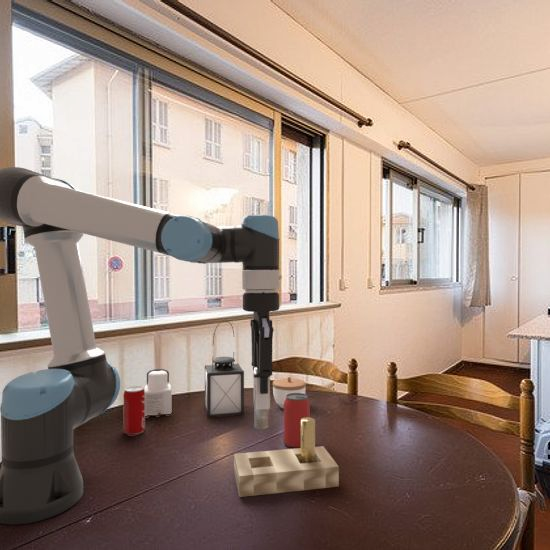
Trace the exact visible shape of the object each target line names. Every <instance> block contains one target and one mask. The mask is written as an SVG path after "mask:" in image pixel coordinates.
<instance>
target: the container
mask: <svg viewBox="0 0 550 550" xmlns="http://www.w3.org/2000/svg"><path fill="white" fill-rule="evenodd" d="M144 391H145V416H147V415H158V414H171V413H172V404H173V403H172V402H173V401H172V399H173V398H172V397H173V396H172V394H173V393H172V387H171V383H170V372H169V370H167V369H164V368H156V369H155V368H154V369H152V370H149V371H147V373H146V385H145V386H144ZM172 414H173V413H172ZM172 414H171V415H172Z"/></svg>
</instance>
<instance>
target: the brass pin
mask: <svg viewBox="0 0 550 550" xmlns="http://www.w3.org/2000/svg"><path fill="white" fill-rule="evenodd" d="M315 447H316V419H315V418H313V417H310V418H309V417H305V418H302V419H301V464H302V463H312V462H315Z"/></svg>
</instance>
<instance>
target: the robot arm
mask: <svg viewBox="0 0 550 550" xmlns="http://www.w3.org/2000/svg"><path fill="white" fill-rule="evenodd" d="M0 221H2V222H4V223H7V224H9V225H13V226H18V227H22V230H23V231H22V232H23V235H24V240H25V243H27V244H29V245H30V246H32V247H33V248H34V251H35V257H36V261H37V262H36V263H37V269H38V274H39V280H40V286H41V290H42V296H43V300H44V301H43V302H44V307H45V313H46V319H47V323H48V330H49V336H50V339H51V340H50V341H51V346H52V351H53V357H52V359H51V360H50V362H48V364H47V369H46V368H45V369H40V370H37V371H34V372H33V371H30V372H27V373H24V374H21V375H19V376H17V377H15V378H13V379H12V380H10V381H8V383H7V384H6V385H5V386H4V387H3V389H2V392H1V402H0V425H1V426H0V431H1V433H0V436H1V438H0V440H1V445H0V446H1V447H0V448H1V467H0V524H3V525H25V524H32V523H35V522H37V523H38V522H41V521H44V520H47V519H50V518H53V517H55V516H57V515H59V514H62V513H64V512H65V511H67V510H69V509H71V508H72V507H74V505H76V504H77V503H78V502H79V501H80V500H81V499H82V496H83V495H84V480H83V479H84V478H83V476H82V473H81V470H80V467H79V465H78V463H77V460H76V457H75V454H74V430H75V429H76V428H78V427H80V426H81V425H83V424H86V423H87V422H89V421H90V420H91V419H93V418H96V417H98V416H100V415H102V414H103V413H104V412H105V411H107V410H108V409H109V408H110V407H112V405H114V403H115V402H116V400H117V399H118V396H119V393H120V390H121V380H120V379H121V378H120V375H119V373H118V370H117V368H116V367H115V366H113V365H112V364H111V362H109V361H108V360H107V356H106V352H105V351H104V350H102V349H101V348H99V347H98V345H97V342H96V337H95V331H94V325H93V320H92V313H91V309H90V303H89V299H88V293H87V287H86V281H85V276H84V272H83V264H82V260H81V256H80V255H81V254H80V253H81V252H80V249H79V241H80V240H81V239H82V238H83V236H84V235H87V236H92V237H95V238H100V239H103V240H107V241H111V242H116V243H119V244H122V245H126V246H131V247H136V248H139V249H143V250H147V251H151V252H156V253H159V254H163V255H165V256H169V257H173V258H174V259H177V261H184V262H187V263H188V262H189V263H193V264H203V265H204V264H205V265H206V264H218V263H219V264H222V263H225V264H226V263H227V264H228V263H235V264H236V263H237V264H238V263H239V264H240V263H242V271H241V273H242V274H241V275H242V276H241V279H242V281H241V283H242V286H241V288H242V290H243V291H245V292H244V293H242V309H243V311H245V312H252V313H253V314H252V316H253V317H252V318H250V321H249V322H250V323H249V324H250V331H251V366H252V370H253V373H252V375H253V380H252V381H253V386H254V378H256V409H257V410H260V409H269V410H270V409H271V376H273V338H274V337H273V335H274V331H275V329H274V326H273V320H272V319H270V313H271V312H276V311H279V310H280V293H279V292H277V291H278V290H279V289H280V281H279V280H282V274H280V240H281V239H280V235H279V220H278V218H276V216H273V215H269V214H248V215H245V216H243V218H242V222H241V224H240V225H237V226H236V225H235V226H216V225H213V224H210V223H209V222H205V221H203V220H202V219H200V218H198V217H194V216H191V215H180V214H177V213H176V214H175V213H170V212H169V211H165V210H160V209H157V208H151V207H147V206H144V205H140V204H136V203H131V202H127V201H123V200H119V199H115V198H111V197H106V196H102V195H98V194H94V193H89V192H85V191H82V190H79V189H78V188H77V187H76V186H75V185H72V184H70V183H68V182H67V181H65V180H63V179H60V178H54V177H51V176H48V175H45V174H42V173H39V172H36V171H34V170H31V169H27V168H24V167H19V166H10V167H4V168H0ZM255 367H257V374H254V368H255Z"/></svg>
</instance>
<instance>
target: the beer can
mask: <svg viewBox="0 0 550 550" xmlns="http://www.w3.org/2000/svg"><path fill="white" fill-rule="evenodd" d="M305 417H309V418H311V403H310V400H309V396H308V395H307V394H306V393H305V394H302V393H290V394H287V395H286V399H285V401H284V409H283V443H284V444H285V446H287V447H288V448H291V449H296V448H301V419H302V418H305Z"/></svg>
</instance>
